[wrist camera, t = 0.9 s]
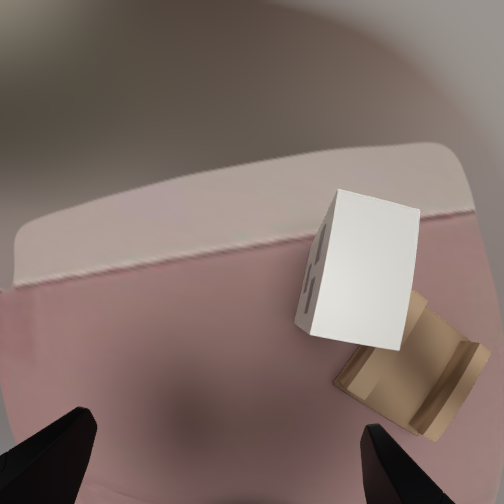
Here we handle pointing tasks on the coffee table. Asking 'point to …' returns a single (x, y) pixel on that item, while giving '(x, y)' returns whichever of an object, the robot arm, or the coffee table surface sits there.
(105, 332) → the coffee table surface
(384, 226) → the white rectangular box
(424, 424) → the slot holder
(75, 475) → the robot arm
